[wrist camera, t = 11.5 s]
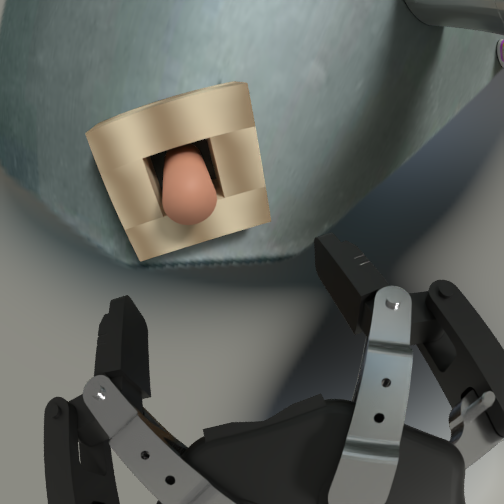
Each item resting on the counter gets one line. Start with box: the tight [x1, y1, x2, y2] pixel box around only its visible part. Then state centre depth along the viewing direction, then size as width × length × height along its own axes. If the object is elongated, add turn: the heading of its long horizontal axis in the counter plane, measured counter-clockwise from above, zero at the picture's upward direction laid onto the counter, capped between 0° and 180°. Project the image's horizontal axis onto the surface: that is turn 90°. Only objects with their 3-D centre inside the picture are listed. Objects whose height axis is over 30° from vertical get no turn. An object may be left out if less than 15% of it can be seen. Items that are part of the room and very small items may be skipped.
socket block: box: [85, 81, 271, 262], centre depth 26 cm, size 14×14×5 cm
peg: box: [162, 143, 217, 225], centre depth 24 cm, size 4×4×10 cm
